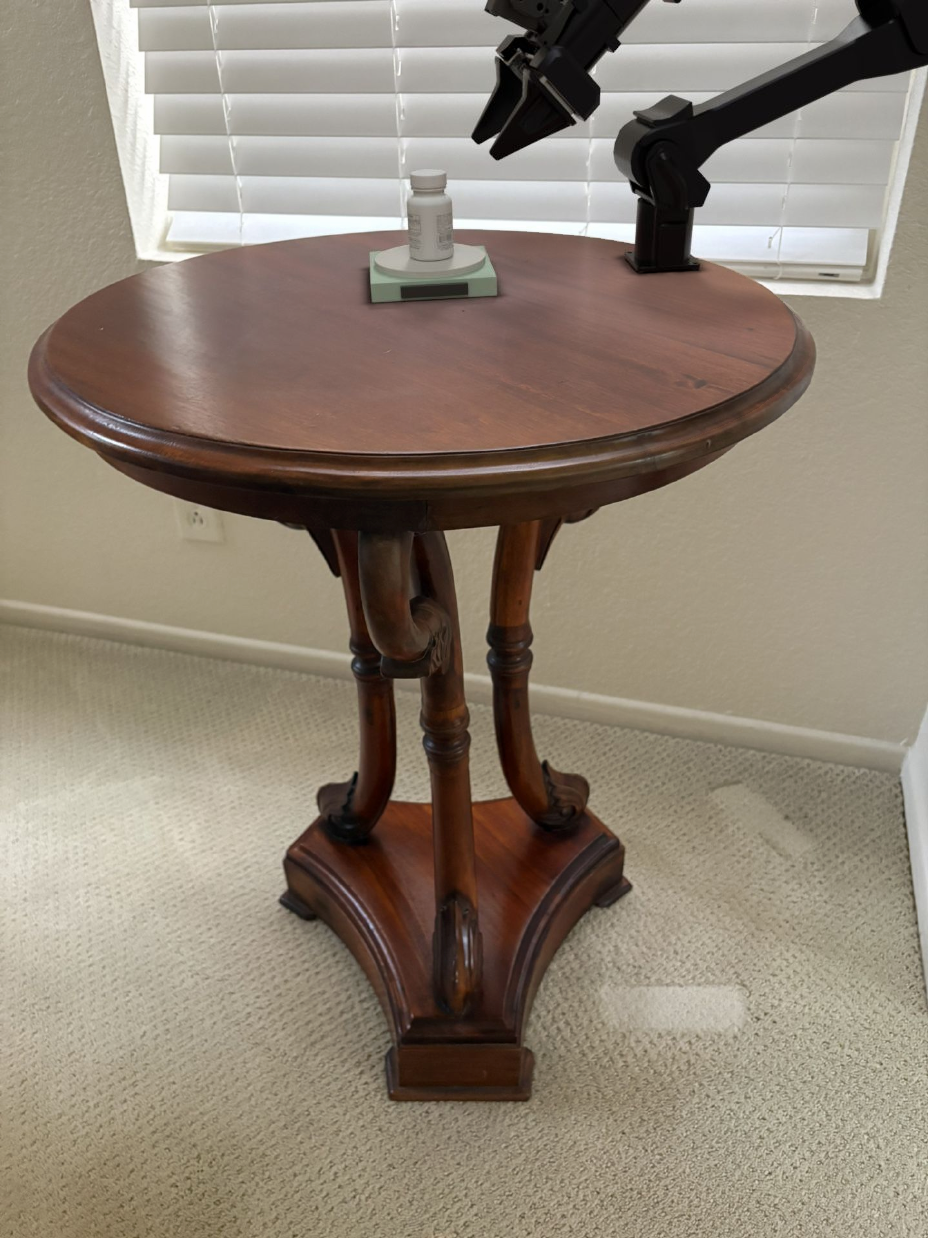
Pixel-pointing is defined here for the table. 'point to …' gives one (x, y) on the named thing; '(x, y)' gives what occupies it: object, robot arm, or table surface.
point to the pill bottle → (430, 216)
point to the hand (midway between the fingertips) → (483, 148)
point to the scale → (431, 275)
